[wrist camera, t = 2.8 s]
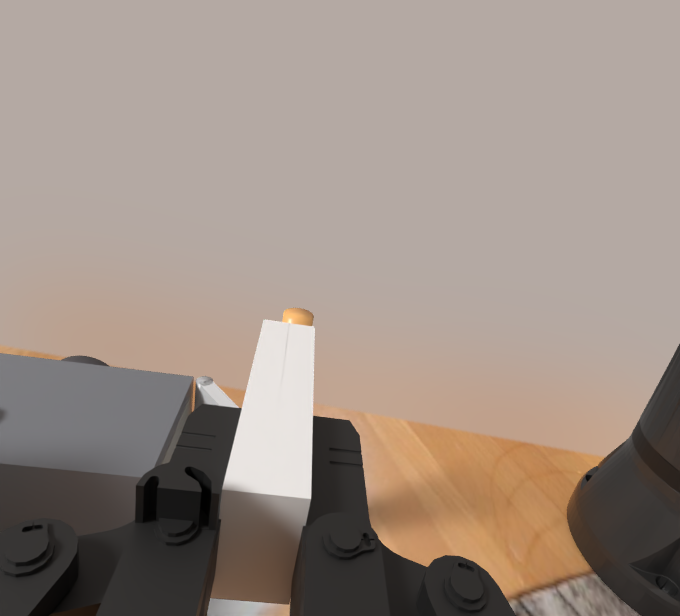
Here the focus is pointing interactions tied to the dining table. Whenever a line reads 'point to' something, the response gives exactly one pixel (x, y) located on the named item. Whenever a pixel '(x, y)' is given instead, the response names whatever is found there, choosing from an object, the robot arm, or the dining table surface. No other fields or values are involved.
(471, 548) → the dining table surface
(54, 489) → the box
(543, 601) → the dining table surface
